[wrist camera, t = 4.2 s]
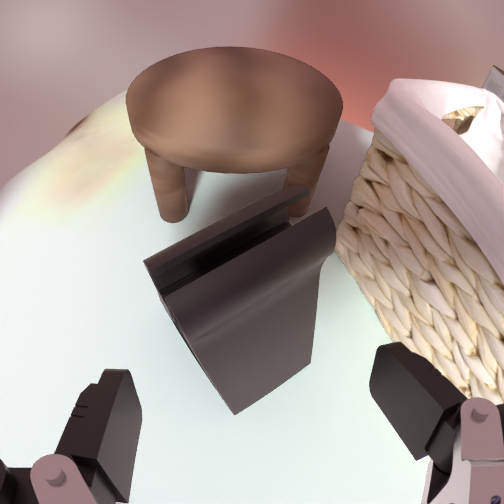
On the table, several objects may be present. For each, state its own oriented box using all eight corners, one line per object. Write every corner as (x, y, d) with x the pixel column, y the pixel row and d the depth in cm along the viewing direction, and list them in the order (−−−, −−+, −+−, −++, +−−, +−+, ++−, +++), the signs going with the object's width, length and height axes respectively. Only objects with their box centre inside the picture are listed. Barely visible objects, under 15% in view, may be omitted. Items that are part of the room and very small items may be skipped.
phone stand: (308, 364, 19) (407, 299, 8) (233, 415, 17) (246, 428, 6) (234, 263, 22) (245, 126, 12) (162, 303, 20) (106, 183, 10)
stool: (135, 244, 22) (101, 158, 14) (154, 122, 30) (145, 52, 22) (334, 233, 24) (377, 153, 16) (295, 119, 32) (310, 51, 24)
